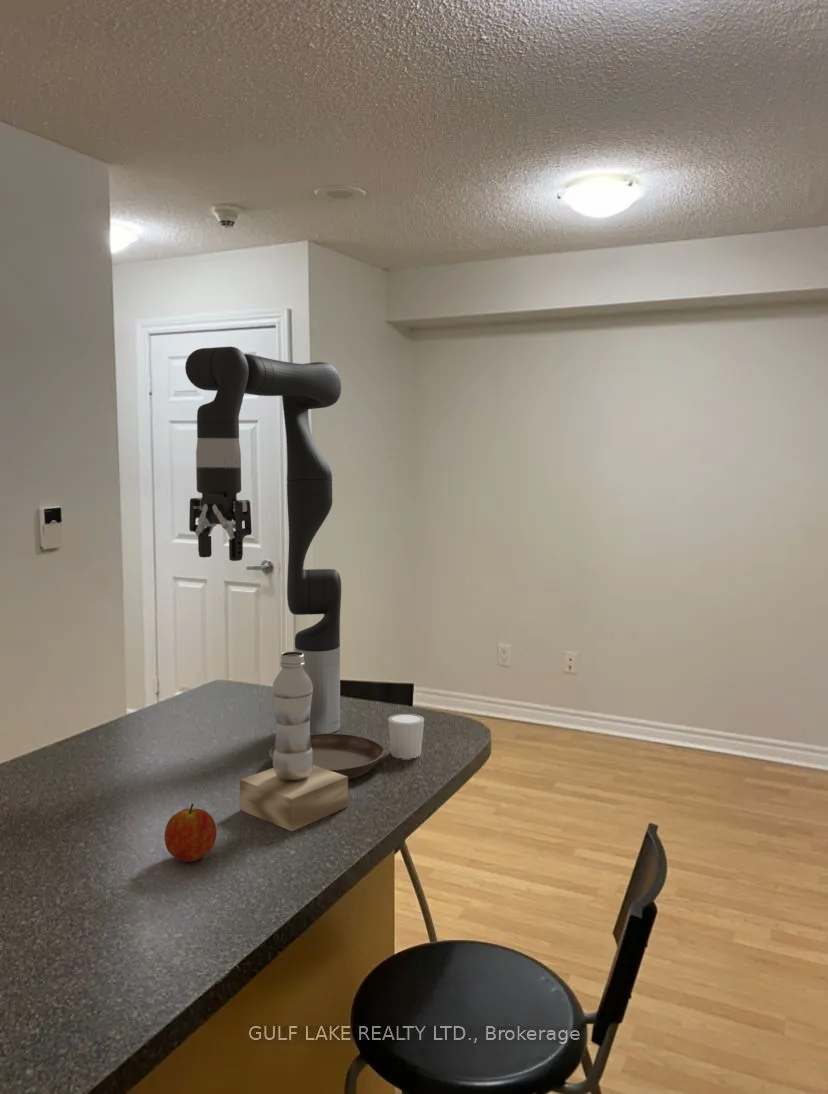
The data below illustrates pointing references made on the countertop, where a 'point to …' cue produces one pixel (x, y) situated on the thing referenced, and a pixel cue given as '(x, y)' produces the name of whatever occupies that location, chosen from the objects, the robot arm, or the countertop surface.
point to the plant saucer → (344, 753)
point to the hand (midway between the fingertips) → (220, 558)
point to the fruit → (190, 834)
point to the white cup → (406, 735)
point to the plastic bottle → (292, 719)
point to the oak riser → (294, 797)
